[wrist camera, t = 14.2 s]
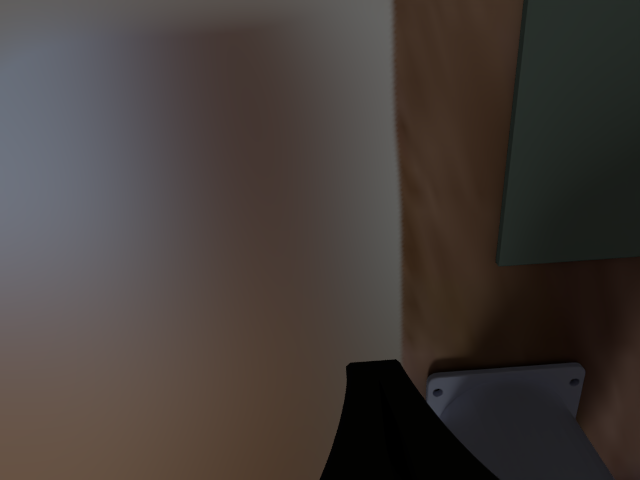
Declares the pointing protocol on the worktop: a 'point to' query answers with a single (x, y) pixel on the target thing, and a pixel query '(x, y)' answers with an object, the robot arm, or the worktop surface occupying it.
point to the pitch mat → (574, 135)
